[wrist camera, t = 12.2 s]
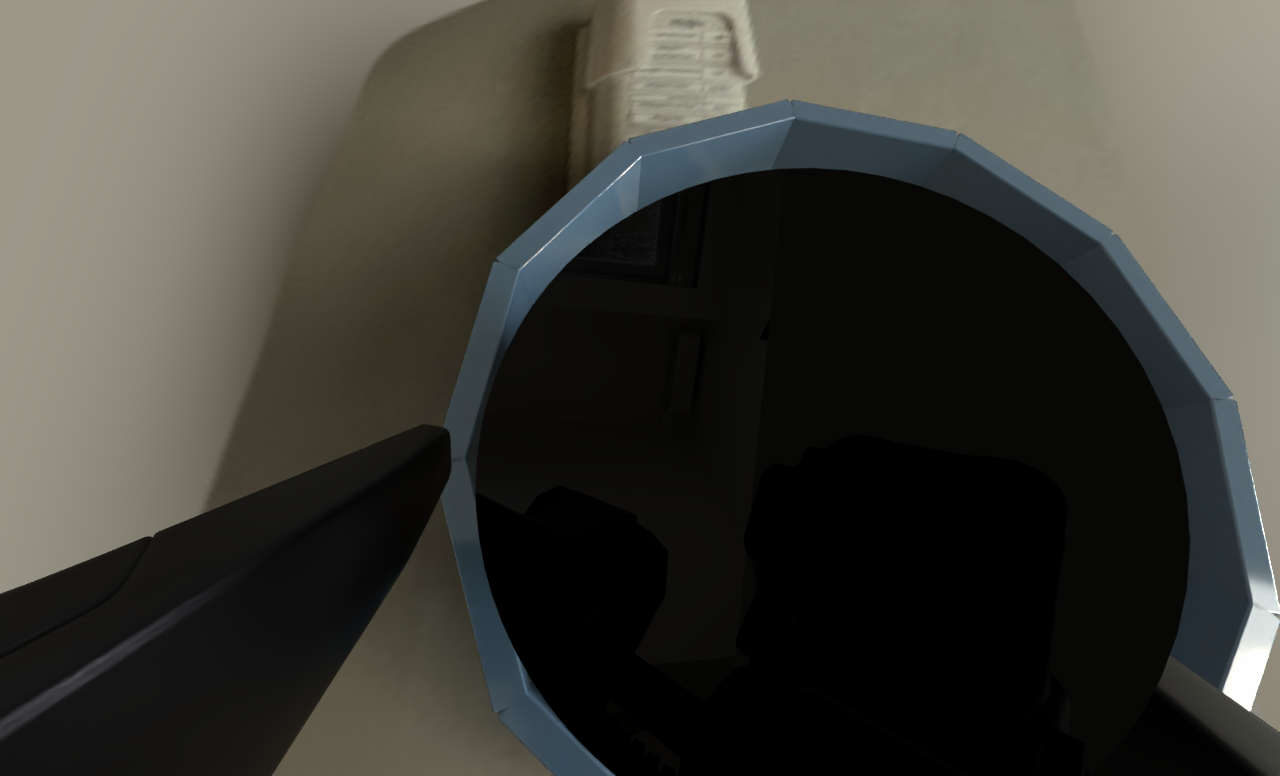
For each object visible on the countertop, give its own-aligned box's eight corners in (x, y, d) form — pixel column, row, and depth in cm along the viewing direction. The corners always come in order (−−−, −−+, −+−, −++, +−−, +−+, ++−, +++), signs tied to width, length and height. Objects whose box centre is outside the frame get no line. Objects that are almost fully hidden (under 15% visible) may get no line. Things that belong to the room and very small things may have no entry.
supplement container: (727, 597, 14) (563, 904, 5) (654, 402, 16) (422, 331, 6) (953, 531, 13) (1460, 810, 3) (844, 319, 14) (927, 38, 4)
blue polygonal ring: (1147, 888, 13) (1374, 1046, 9) (401, 756, 13) (309, 861, 9) (1073, 243, 19) (1189, 174, 15) (567, 147, 19) (556, 53, 15)
